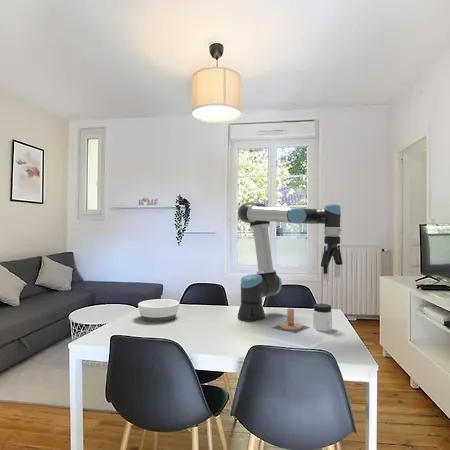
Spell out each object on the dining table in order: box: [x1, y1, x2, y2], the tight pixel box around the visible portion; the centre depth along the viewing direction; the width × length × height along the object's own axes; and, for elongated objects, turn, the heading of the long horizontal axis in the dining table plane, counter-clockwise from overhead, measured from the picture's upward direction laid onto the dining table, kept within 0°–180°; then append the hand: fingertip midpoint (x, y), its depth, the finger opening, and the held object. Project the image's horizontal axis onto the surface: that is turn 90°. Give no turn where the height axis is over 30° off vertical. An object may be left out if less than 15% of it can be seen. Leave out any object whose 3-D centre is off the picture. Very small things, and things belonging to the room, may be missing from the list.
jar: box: [312, 303, 333, 332], centre depth 175 cm, size 9×8×12 cm
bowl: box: [137, 298, 180, 323], centre depth 199 cm, size 22×22×8 cm
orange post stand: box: [278, 308, 302, 331], centre depth 177 cm, size 11×11×9 cm
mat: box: [271, 321, 311, 334], centre depth 177 cm, size 14×14×1 cm
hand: (331, 279), depth 177 cm, fingers open, 13 cm apart
